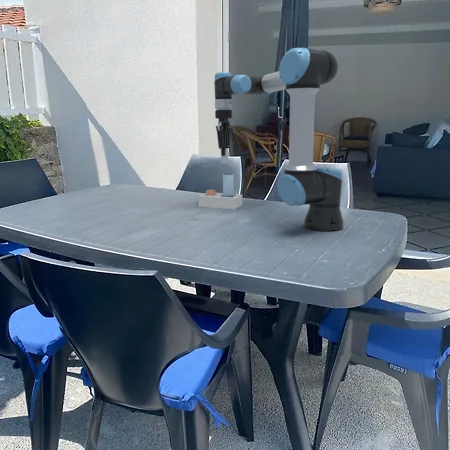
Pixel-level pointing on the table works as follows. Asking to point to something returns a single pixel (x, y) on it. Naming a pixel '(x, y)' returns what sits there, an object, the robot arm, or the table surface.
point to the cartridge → (228, 184)
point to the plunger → (210, 192)
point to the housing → (220, 201)
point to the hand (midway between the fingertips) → (224, 162)
